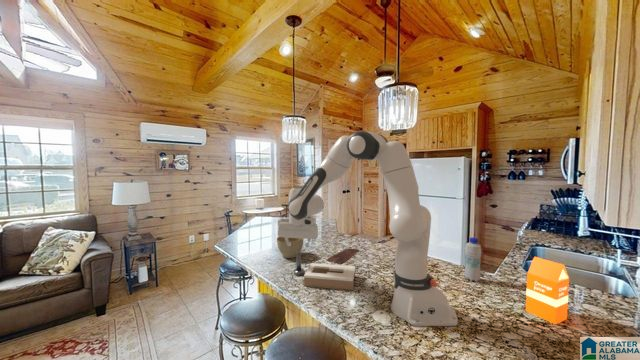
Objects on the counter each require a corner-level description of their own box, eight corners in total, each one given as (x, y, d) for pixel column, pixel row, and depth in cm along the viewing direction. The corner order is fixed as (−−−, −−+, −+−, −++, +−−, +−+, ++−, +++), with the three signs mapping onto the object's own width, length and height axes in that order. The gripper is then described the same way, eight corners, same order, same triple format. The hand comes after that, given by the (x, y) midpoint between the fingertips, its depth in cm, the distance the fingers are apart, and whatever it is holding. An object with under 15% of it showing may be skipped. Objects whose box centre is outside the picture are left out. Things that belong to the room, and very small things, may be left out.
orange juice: (555, 324, 84) (558, 266, 83) (525, 310, 92) (527, 257, 91) (567, 318, 88) (570, 262, 86) (537, 305, 96) (539, 254, 94)
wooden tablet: (347, 246, 164) (361, 247, 159) (347, 249, 164) (361, 250, 159) (325, 259, 142) (340, 261, 137) (325, 263, 142) (341, 265, 137)
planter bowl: (305, 251, 158) (305, 234, 158) (301, 261, 142) (301, 242, 142) (280, 250, 160) (280, 233, 159) (273, 260, 144) (273, 241, 143)
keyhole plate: (355, 276, 122) (355, 266, 122) (353, 290, 109) (353, 279, 108) (311, 272, 127) (311, 263, 127) (304, 285, 113) (304, 275, 113)
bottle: (482, 279, 118) (483, 237, 116) (479, 284, 113) (480, 240, 111) (466, 275, 122) (467, 234, 121) (462, 279, 117) (463, 237, 116)
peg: (305, 271, 128) (304, 250, 127) (302, 276, 123) (302, 254, 123) (295, 271, 129) (295, 250, 128) (292, 275, 124) (292, 253, 124)
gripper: (275, 219, 123) (276, 247, 124) (316, 221, 119) (316, 249, 120) (280, 216, 130) (280, 243, 131) (318, 218, 125) (319, 245, 126)
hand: (298, 246), depth 125 cm, fingers open, 8 cm apart
